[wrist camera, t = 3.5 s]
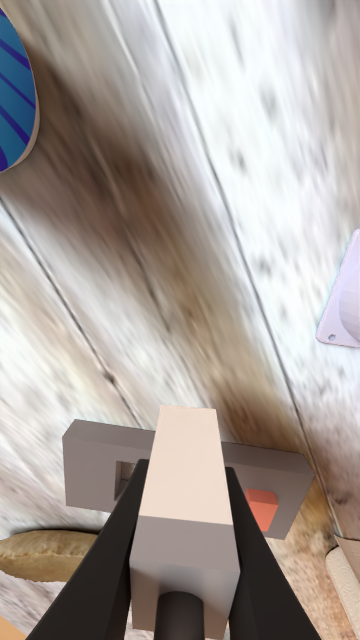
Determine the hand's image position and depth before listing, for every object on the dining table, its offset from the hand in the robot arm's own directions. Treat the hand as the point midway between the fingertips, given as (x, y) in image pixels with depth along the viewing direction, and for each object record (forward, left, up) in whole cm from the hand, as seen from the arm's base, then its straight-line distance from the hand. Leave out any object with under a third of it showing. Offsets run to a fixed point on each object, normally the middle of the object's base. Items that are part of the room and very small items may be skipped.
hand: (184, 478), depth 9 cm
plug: (0, 0, -2) cm, 2 cm away
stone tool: (+7, +26, -9) cm, 29 cm away
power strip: (-1, +11, -8) cm, 14 cm away
